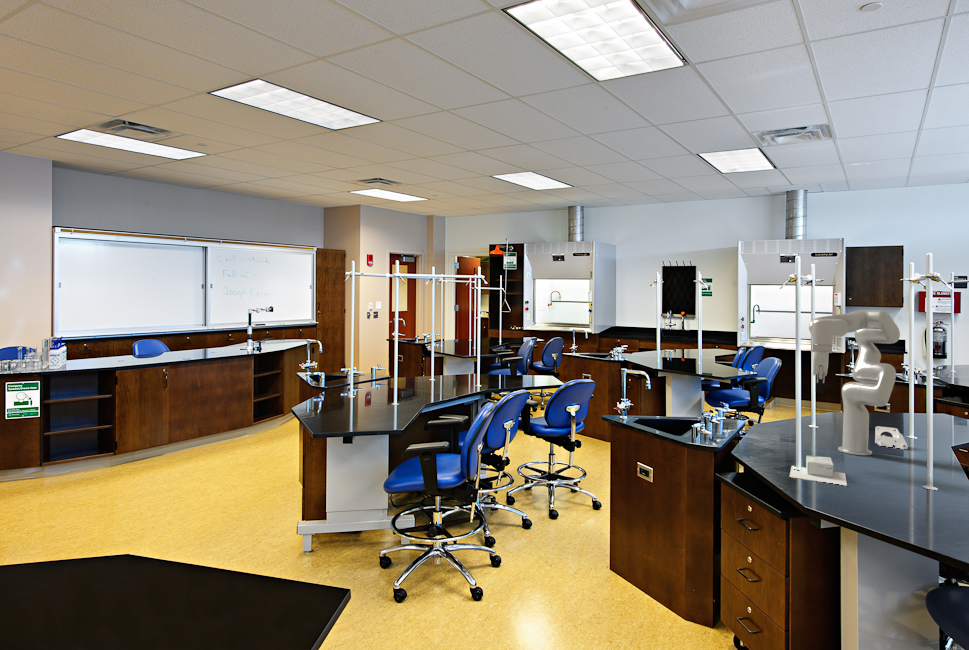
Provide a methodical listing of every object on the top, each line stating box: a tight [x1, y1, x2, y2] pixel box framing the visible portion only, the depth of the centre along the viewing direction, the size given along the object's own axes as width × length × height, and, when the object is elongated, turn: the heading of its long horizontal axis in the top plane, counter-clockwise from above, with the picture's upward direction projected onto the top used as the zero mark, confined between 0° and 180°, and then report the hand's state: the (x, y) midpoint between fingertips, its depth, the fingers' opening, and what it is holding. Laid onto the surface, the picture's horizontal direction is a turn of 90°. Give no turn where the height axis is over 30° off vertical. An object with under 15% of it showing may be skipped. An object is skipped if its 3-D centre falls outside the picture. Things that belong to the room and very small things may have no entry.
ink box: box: [805, 454, 835, 477], centre depth 208 cm, size 9×5×12 cm
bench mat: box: [789, 465, 848, 487], centre depth 205 cm, size 18×18×1 cm
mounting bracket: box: [874, 425, 909, 450], centre depth 254 cm, size 12×6×11 cm, turn 56°
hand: (820, 392), depth 225 cm, fingers closed
